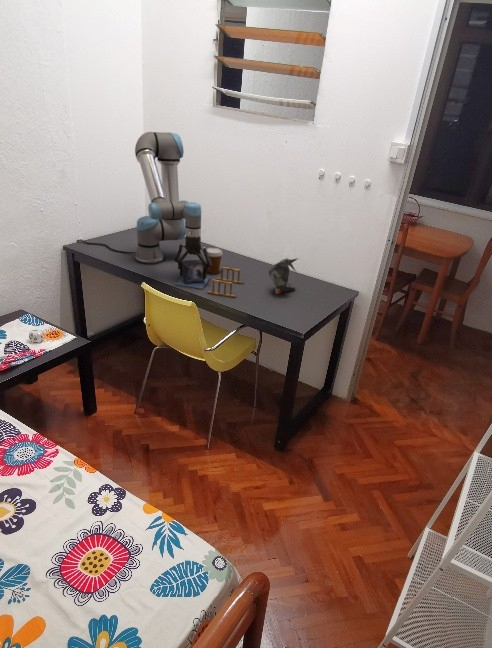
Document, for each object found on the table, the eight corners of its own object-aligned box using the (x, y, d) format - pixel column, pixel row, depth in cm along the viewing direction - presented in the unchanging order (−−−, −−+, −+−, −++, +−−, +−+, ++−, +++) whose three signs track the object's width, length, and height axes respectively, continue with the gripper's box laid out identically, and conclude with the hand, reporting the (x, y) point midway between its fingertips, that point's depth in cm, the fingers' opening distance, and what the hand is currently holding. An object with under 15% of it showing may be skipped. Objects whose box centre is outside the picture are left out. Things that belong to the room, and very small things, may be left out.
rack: (207, 293, 229) (208, 279, 224) (217, 279, 244) (218, 265, 240) (235, 297, 227) (235, 283, 223) (243, 283, 243) (243, 269, 239)
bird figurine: (262, 286, 242) (265, 254, 232) (288, 284, 248) (292, 252, 238) (273, 298, 231) (276, 264, 222) (299, 295, 237) (304, 262, 227)
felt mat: (175, 285, 233) (175, 284, 233) (184, 275, 244) (184, 274, 244) (202, 289, 232) (202, 288, 232) (209, 279, 243) (209, 278, 243)
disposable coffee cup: (218, 275, 248) (219, 254, 241) (202, 272, 249) (202, 251, 243) (223, 269, 256) (224, 249, 249) (207, 266, 257) (208, 246, 250)
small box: (185, 284, 233) (185, 265, 227) (181, 279, 238) (181, 260, 232) (204, 282, 238) (205, 263, 232) (200, 277, 242) (200, 258, 237)
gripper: (167, 234, 222) (168, 276, 234) (214, 241, 221) (213, 283, 232) (172, 230, 229) (173, 270, 241) (218, 237, 227) (217, 277, 239)
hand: (193, 276), depth 237 cm, fingers closed on small box, 12 cm apart
